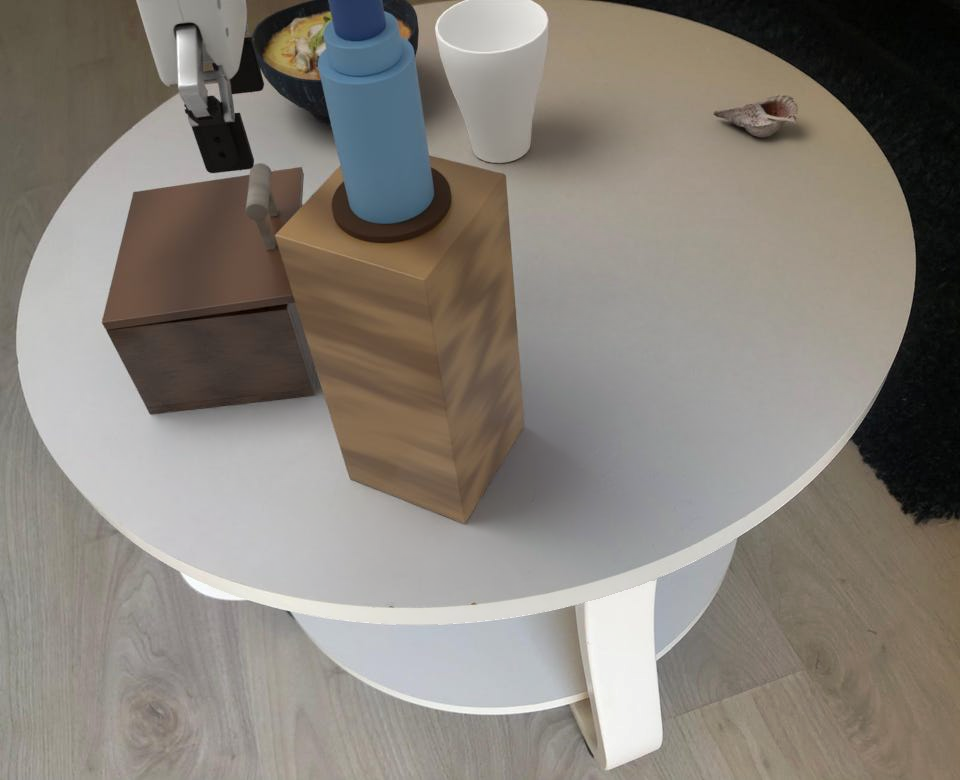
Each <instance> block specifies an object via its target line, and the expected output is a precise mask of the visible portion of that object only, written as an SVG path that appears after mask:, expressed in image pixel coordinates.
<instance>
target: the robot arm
mask: <svg viewBox="0 0 960 780" xmlns="http://www.w3.org/2000/svg"><path fill="white" fill-rule="evenodd" d="M135 1H136V5H137V7H138V11H139V14H140V18H141V21H142V25H143V28H144V31H145V35H146V38H147V41H148V44H149V47H150V51H151V55H152V57H153V60H154V61H153V62H154V64H155V67H156V71H157V74H158V76H159V79H160V81H161V82H162V83H163V84H164V85H165V86H167V87H174V86H175V85H177V89H178V93H179V94H178V95H179V97H180V99H181V100H182V102H183V103H184V104H183V106H184V107H185V109H184V113H185V114H186V115H187V120H188V123H189V125H190V127H191V130H192V133H193V135H194V139H195V141H196V144H197V148H198V150H199V153H200V156H201V159H202V162H203V165H204V167H205V170H206V172H207V173H209V174H219V173H228V172H236V171H238V172H239V171H245V170H251V168H252V167H253V165H255V158H254V155H253V152H252V148H251V145H250V141H249V139H248V135H247V130H246V128H245V125H244V121H243V118H242V113H241V112H235V106H234V99H233V95H240V94H248V93H255V92H261V91H263V90H264V86H265V81H264V76H263V73H262V71H261V69H260V66H259V62H258V59H257V55H256V51H255V47H254V44H253V40H252V36H249V35H250V32H249V31H250V30H249V23H248V21H247V20H248V7H247V1H246V0H135ZM246 36H247V37H246ZM207 64H208V65H210V64H211V66H212V68H213V69H212V70H211V69H210V70H204V65H207ZM212 84H218V91H219V98H220V100H219V99H218V98H217V97H216V96H215V95H208V93H209V92H208V89H207V87H206V85H212Z"/></svg>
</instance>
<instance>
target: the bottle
mask: <svg viewBox="0 0 960 780" xmlns="http://www.w3.org/2000/svg"><path fill="white" fill-rule="evenodd" d="M328 1H329V6H330V11H331V16H332V20H331V21H330V22H329V23H328V24H327V25H326V27H325V29H324V33H323V36H324V41H325V46H326V49H325V50H324V51H323V52H322V53H321V55H320V57H319V60H318V69H319V73H320V77H321V82H322V86H323V91H324V95H325V100H326V104H327V108H328V113H329V117H330V122H331V124H330V127H331V130H332V134H333V140H334V143H335V147H336V148H335V149H336V152H337V156H338V161H339V166H341V170H342V175H343V179H344V184H345V188H346V192H347V197H348V201H349V205H350V208H351V210H352V211H353V212H354V214H356V215H357V216H358V217H359V218H361V219H363V220H365V221H368V222H372V223H377V224H393V223H399V222H403V221H406V220H409V219H411V218H414V217H416V216H417V215H419V214H420V213H422V212H423V211H424V210H426V208H427V207H428V206H429V205H430V203H431V202H432V200H433V197H434V187H433V180H432V173H431V166H430V159H429V155H430V153H429V146H428V139H427V131H426V124H425V118H424V111H423V103H422V95H421V89H420V83H419V75H418V67H417V61H416V57H415V54H414V49H413V46H412V45H411V44H410V42H409V41H408V40H406V39H405V38H403V37H401V36H400V32H399V26H398V22H397V20H396V18H395V17H394V16H393V15H391V14H389V13H387V12H385V11H384V8H383V2H382V0H328Z"/></svg>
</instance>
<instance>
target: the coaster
mask: <svg viewBox="0 0 960 780" xmlns="http://www.w3.org/2000/svg"><path fill="white" fill-rule="evenodd" d="M431 173H432V180H433V187H434V197H433V200H432V202H431V203H430V205H429V206H428V207H427V208H426V210H424V211H423V212H422V213H420V214H419V215H417V216H416V217H414V218H411V219H409V220H406V221H403V222H399V223H393V224H377V223H372V222H368V221H365V220H363V219H361V218H359V217H358V216H357V215H356V214H354V212H353V211H352V210H351V208H350V205H349V201H348V197H347V192H346V188H345V184H344V181H343V182H342V183H341V184H340V186H339V187H338V188H337V190H336V191H335V193H334V196H333V198H332V212H333V216H334V219H335V221H336V223H337V225H338V226H339V227H340V228H341V229H342V230H343V231H344V232H345V233H347V234H348V235H350V236H352V237H354V238H357V239H360V240H363V241H368V242H375V243H392V242H399V241H404V240H408V239H411V238H414V237H417V236H419V235H422V234H424V233H426V232H427V231H429V230H431V229H432V228H434V227H435V226H436V225H437V224H439V223H440V222H441V221H442V219H443V218H444V217H445V216H446V214H447V213H448V211H449V208H450V205H451V199H452V197H451V189H450V186H449V183H448V181H447V180H446V178H445V177H444V176H443V175H442V174H441V173H440V172H439V171H437V170H436V169H434V168H432V167H431Z"/></svg>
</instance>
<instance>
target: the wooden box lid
mask: <svg viewBox="0 0 960 780" xmlns="http://www.w3.org/2000/svg"><path fill="white" fill-rule="evenodd" d="M304 181H305V173H304V170H303V167H302V166H299V167H293V168H285V169H278V170H272V169H271V168H270V166H269V165H267V164H265V163H262V162H261V163H260V162H259V163H254V165H253V167H252V168H251V169H249V174H245V175H238V176H231V177H225V178H219V179H211V180H206V181H205V180H204V181H198V182H192V183H185V184H178V185H172V186H166V187H165V186H163V187H156V188H151V189H145V190H137V191H133V192H132V196H131V201H130V204H129V207H128V208H129V209H128V212H127V217H126V221H125V224H124V230H123V233H122V238H121V241H120V245H119V250H118V254H117V258H116V262H115V266H114V270H113V275H112V278H111V282H110V286H109V290H108V295H107V299H106V303H105V308H104V312H103V315H102V321H101V325H102V326H103V328H104V329H105V331H106V330H109V329H116V328H123V327H130V326H137V325H144V324H150V323H157V322H164V321H171V320H178V319H185V318H192V317H199V316H206V315H213V314H220V313H227V312H234V311H241V310H248V309H255V308H262V307H269V306H276V305H282V304H289V303H295V299H294V296H293V293H292V289H291V286H290V283H289V280H288V276H287V273H286V270H285V267H284V263H283V260H282V257H281V254H280V250H279V247H278V244H277V241H276V237H275V235H276V233H277V232H278V231H279V230H280V229H281V228H282V227H283V226H284V225H285V224H286V223H287V222H288V221H289V220H290V219H291V217H292V216H293V215H294V214H295V213H296V212H297V211H298V210H299V209H300V208H301V207H302V205H303V196H304Z"/></svg>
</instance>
